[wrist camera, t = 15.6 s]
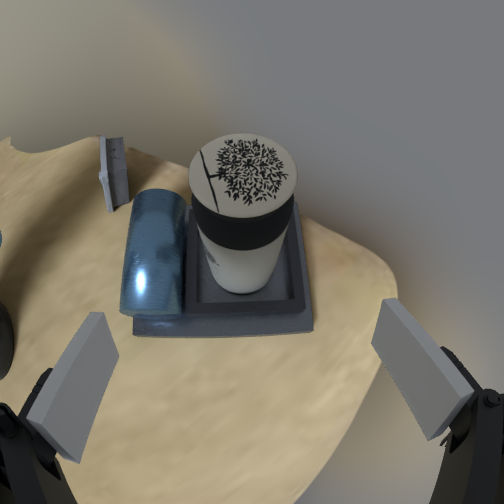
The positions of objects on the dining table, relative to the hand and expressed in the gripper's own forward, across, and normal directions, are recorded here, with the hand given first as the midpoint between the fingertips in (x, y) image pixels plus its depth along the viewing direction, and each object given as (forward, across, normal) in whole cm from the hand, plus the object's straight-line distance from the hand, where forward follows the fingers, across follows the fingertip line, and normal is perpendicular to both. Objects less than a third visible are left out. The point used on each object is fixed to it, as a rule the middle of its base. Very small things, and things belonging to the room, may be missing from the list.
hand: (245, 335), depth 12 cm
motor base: (+23, -2, -8) cm, 25 cm away
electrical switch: (+34, -19, +3) cm, 39 cm away
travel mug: (+22, 0, -6) cm, 23 cm away
